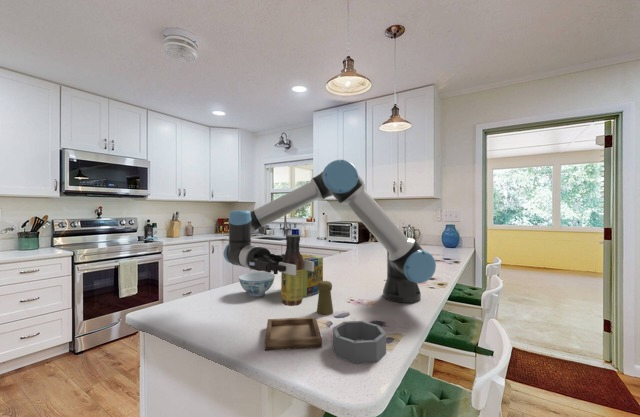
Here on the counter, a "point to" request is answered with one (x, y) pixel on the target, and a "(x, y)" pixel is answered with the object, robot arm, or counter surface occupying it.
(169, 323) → the counter surface
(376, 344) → the holder cup
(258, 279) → the chinaware
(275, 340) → the tray
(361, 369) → the counter surface
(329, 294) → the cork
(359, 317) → the counter surface
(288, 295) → the sauce bottle
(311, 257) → the protein box
